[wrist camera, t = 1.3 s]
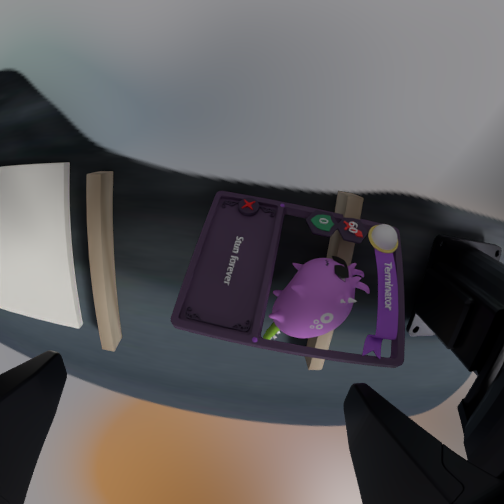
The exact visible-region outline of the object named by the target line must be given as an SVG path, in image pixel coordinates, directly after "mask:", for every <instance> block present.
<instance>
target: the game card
mask: <svg viewBox="0 0 504 504" xmlns="http://www.w3.org/2000/svg"><path fill="white" fill-rule="evenodd" d="M284 215H292V216H297V217H302V218H307V219H306V222H307V224H308V226H309V228H310V230H311V232H312V233H313V234H315V235H320V236H325V237H331V236H332V235H333V233H334V232H335V231H336V230H338V231H339V233H340V235H341V237H342V238H343V240H344V241H348V242H353V243H358V244H360V243H361V242H362V241H363V239H364V238H365V237H366V235H367V234H368V238H369V241H370V243H371V244H372V246H373V247H374V249H375V257H376V263H377V272H378V313H377V328H376V335H368V336H367V337H366V340H365V344H364V348H363V354H362V355H360V354H352V353H345V352H338V351H331V350H325V349H319V348H313V347H307V346H301V345H295V344H290V343H284V342H279V341H274V340H275V338H277V337H276V336H275V334H276V333H277V334H278V333H280V330H281V331H282V332H283V333H285V334H287V335H289V336H292V337H296V338H312V337H317V336H320V335H323V334H326V333H328V332H330V331H332V330H333V329H335V328H337V327H338V326H339V325H340V324H341V323H343V321H344V320H345V319H346V318H347V316H348V315H349V313H350V311H351V309H352V306H353V303H354V302H357V301H356V300H354V298H355V288H359V289H362V290H364V291H365V292H366V293H368V294H369V293H370V290H369V287H368V286H367V285H366V284H364V283H362V282H359V280H360V279H361V277H358V276H356V277H353V275H360V276H362V277H364V272H363V271H360V270H357V269H355V266H356V265H357V264H356V263H353V264H350V265H349V266H348V267H347V264H346V262H345V260H343V259H341V258H339V257H337V256H332V258H333V259H331V258H316V259H313V260H310V261H308V262H306V263H305V264H298V263H293V265H294V267H295V268H296V269H297V270H298V272H297V273H296V274H295V276H294V277H293V279H292V280H291V281H290V282H289V284H288V285H287V286H286V287H285V288H284V290H274V291H273V294H274V295H276V296H278V297H277V299H276V301H275V303H274V306H273V309H272V313H271V314H270V315H269V317H270V318H272V319H273V320H274V322H273V323H272V324H271V326H270V327H269V328H268V329H267V330H266V333H265V334H264V336H263V338H262V337H261V331H262V326H263V321H264V317H265V312H266V307H267V302H268V297H269V292H270V287H271V282H272V277H273V272H274V267H275V262H276V257H277V252H278V246H279V241H280V236H281V231H282V225H283V220H284ZM368 232H369V233H368ZM171 322H172V324H173V326H174V327H175V328H177V329H181V330H185V331H188V332H192V333H196V334H200V335H204V336H208V337H212V338H217V339H221V340H225V341H229V342H234V343H238V344H243V345H248V346H252V347H257V348H262V349H267V350H272V351H278V352H283V353H289V354H294V355H300V356H306V357H312V358H318V359H325V360H332V361H339V362H346V363H354V364H362V365H371V366H380V367H390V368H396V367H398V366H400V365H402V364H403V362H404V346H405V303H404V278H403V263H402V251H401V240H400V232H399V230H398V229H397V228H396V227H393V226H390V225H387V224H381V223H377V222H373V221H369V220H365V219H360V220H359V219H355V218H343V214H339V213H334V212H330V211H325V210H320V209H316V208H311V207H306V206H301V205H296V204H291V203H286V202H281V201H276V200H271V199H266V198H260V197H255V196H250V195H244V194H238V193H233V192H227V191H218V192H217V193H216V195H215V197H214V200H213V202H212V205H211V208H210V210H209V213H208V215H207V218H206V221H205V223H204V226H203V228H202V231H201V234H200V236H199V239H198V242H197V245H196V247H195V250H194V253H193V255H192V258H191V261H190V264H189V267H188V269H187V272H186V275H185V278H184V281H183V284H182V286H181V289H180V292H179V295H178V298H177V301H176V304H175V307H174V310H173V313H172V316H171ZM272 337H273V338H274V340H271V339H272ZM383 339H390V340H392V343H391V357H390V358H385V357H380V355H381V343H382V340H383ZM371 351H374V353H375V354H376V356H377V357H376V356H368V355H366V354H368V353H369V352H371Z"/></svg>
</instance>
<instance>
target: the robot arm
mask: <svg viewBox="0 0 504 504" xmlns="http://www.w3.org/2000/svg"><path fill="white" fill-rule="evenodd" d="M442 241H443V244H442V246H441V247H440V244H441V242H442ZM500 256H501V247H499V246H497V245H495V244H490V243H485V242H480V241H475V240H469V239H464V238H458V237H453V236H447V235H438V236H437V237H436V238H435V239H434V242H433V246H432V250H431V253H430V257H429V261H428V264H427V268H426V271H425V275H424V278H423V281H422V284H421V288H420V291H419V294H418V297H417V300H416V303H415V306H414V308H413V311H412V314H411V317H410V319H409V322H408V325H407V328H406V330H407V332H408V333H409V335H410V336H429V335H436V336H437V337H438V338H439V340H440V341H441V342H442V343H443V344H444V345H445V346H446V348H447V349H450V350H451V351H452V352H453V353H454V354H455V355H456V356H457V358H458V359H459V360H460V361H461V362H462V363H463V365H464V366H465V367H466V368H467V369H468V371H469V372H472V371H474V373H475V374H476V375H477V378H476V380H475V382H474V383H473V385H472V387H471V388H470V390H469V392H468V394H467V395H466V397H465V398H464V399H462V401H461V402H460V404H459V405H458V412H459V416H460V420H461V424H462V428H463V433H464V446H465V450H466V454H467V459H468V460H465V459H464V458H462V457H461V456H459V455H458V454H456V453H455V452H454V451H452V450H451V449H449V448H448V447H447V446H445V445H444V444H442V443H441V442H440V441H439V440H437V439H436V438H435V437H433V436H432V435H431V434H430V433H428V432H427V431H426V430H424V429H423V428H422V427H420V426H419V425H418V424H416V423H415V422H414V421H413V420H411V419H410V418H409V417H407V416H406V415H405V414H404V413H402V412H401V411H400V410H399V409H397V408H396V407H395V406H393V405H392V404H391V403H390V402H388V401H387V400H386V399H385V398H383V397H382V396H381V395H380V394H378V393H377V392H376V391H375V390H373V389H372V388H371V387H370V386H368V385H367V384H365V383H355V384H353V385H352V386H351V387H350V389H349V392H348V394H347V396H346V399H345V401H344V414H345V422H346V429H347V436H348V444H349V449H350V454H351V458H352V462H353V466H354V470H355V474H356V477H357V482H358V486H359V490H360V494H361V499H362V503H363V504H504V264H503V263H501V262H499V260H500ZM414 327H415V328H414ZM413 328H414V329H413ZM66 378H67V372H66V369H65V366H64V362H63V359H62V356H61V355H60V353H58V352H54V351H50V350H49V351H46V352H44V353H42V354H40V355H38V356H36V357H34V358H32V359H30V360H29V361H26V362H25V363H23V364H21V365H19V366H17V367H15V368H12V369H10V370H8V371H6V372H5V373H2V374H1V375H0V504H24V501H25V497H26V493H27V490H28V487H29V484H30V481H31V478H32V475H33V472H34V469H35V466H36V463H37V460H38V458H39V455H40V452H41V449H42V447H43V444H44V441H45V439H46V436H47V434H48V431H49V429H50V426H51V424H52V421H53V419H54V416H55V413H56V410H57V407H58V404H59V401H60V397H61V394H62V391H63V388H64V385H65V381H66Z"/></svg>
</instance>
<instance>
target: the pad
mask: <svg viewBox="0 0 504 504" xmlns="http://www.w3.org/2000/svg"><path fill="white" fill-rule="evenodd" d="M69 175H70V162H63V163H41V164H25V165H12V166H1V167H0V308H1V309H4V310H7V311H11V312H14V313H18V314H21V315H25V316H29V317H32V318H36V319H40V320H44V321H48V322H52V323H56V324H60V325H65V326H69V327H74V328H78V329H79V328H80V327H81V326H82V324H83V322H82V316H81V311H80V305H79V299H78V293H77V286H76V278H75V270H74V262H73V252H72V240H71V225H70V197H69Z"/></svg>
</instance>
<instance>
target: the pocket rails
mask: <svg viewBox="0 0 504 504" xmlns="http://www.w3.org/2000/svg"><path fill="white" fill-rule="evenodd" d="M86 199H87V232H88V248H89V261H90V271H91V281H92V289H93V297H94V304H95V310H96V317H97V323H98V329H99V334H100V339H101V344H102V349H104V350H109V351H115V349H116V347H117V346H118V344H119V342H120V340H121V338H122V333H121V326H120V318H119V310H118V301H117V291H116V279H115V265H114V246H113V171H99V172H94V173H90V174H87V186H86ZM363 199H364V198H362V197H360V196H358V195H355V194H353V193H348V192H342V191H338V195H337V201H336V207H335V213H339V214H343V218H355V219H359V220H360V216H361V210H362V205H363ZM354 246H355V243H353V242H348V241H344V240H343V238H342V237H341V235H340V233H339V231H338V230H336V231H335V232H334V233H333V235H332V236H331V237H330V241H329V246H328V252H327V257H326V258H331V259H333V258H332V256H337V257H339V258H341V259H343V260H345V262H346V264H347V267H348V266H349V265H350V264H351V260H352V255H353V251H354ZM333 331H334V329H333V330H332V331H330V332H328V333H326V334H323V335H320V336H317V337H312V338H308V341H307V345H306V346H307V347H313V348H319V349H325V350H328V348H329V344H330V341H331V338H332V334H333ZM305 359H306V362H307V366H308V369H309V370H322V367H323V364H324V361H325V359H318V358H312V357H306V356H305Z"/></svg>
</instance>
